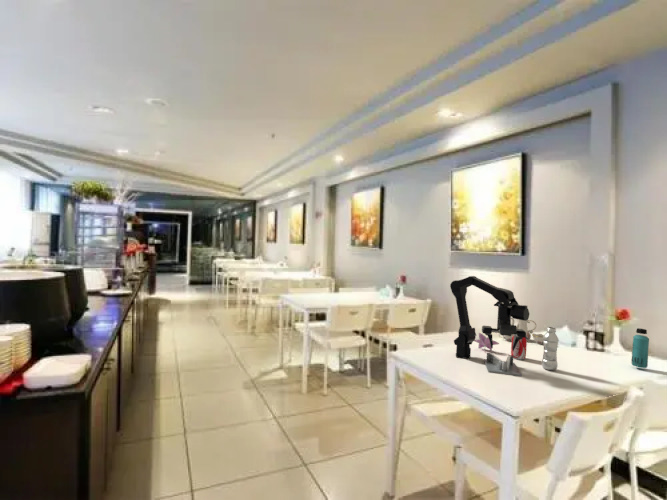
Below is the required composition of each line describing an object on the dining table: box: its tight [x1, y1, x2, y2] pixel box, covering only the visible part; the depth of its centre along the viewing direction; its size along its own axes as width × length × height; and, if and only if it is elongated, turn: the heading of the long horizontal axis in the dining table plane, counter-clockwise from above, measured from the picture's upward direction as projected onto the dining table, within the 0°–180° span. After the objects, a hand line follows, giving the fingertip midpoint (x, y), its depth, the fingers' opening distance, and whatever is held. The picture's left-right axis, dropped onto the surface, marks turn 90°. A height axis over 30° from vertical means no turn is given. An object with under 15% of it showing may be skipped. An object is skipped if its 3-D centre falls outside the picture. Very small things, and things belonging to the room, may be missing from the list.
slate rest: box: [483, 358, 523, 377], centre depth 181 cm, size 14×18×5 cm
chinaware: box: [498, 317, 545, 345], centre depth 236 cm, size 28×17×17 cm, turn 81°
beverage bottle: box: [630, 327, 650, 369], centre depth 189 cm, size 6×7×20 cm
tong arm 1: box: [486, 352, 503, 369], centre depth 183 cm, size 2×12×4 cm, turn 178°
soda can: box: [510, 334, 528, 361], centre depth 198 cm, size 7×7×12 cm
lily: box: [473, 332, 500, 351], centre depth 210 cm, size 12×12×10 cm
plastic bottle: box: [541, 326, 559, 371], centre depth 182 cm, size 6×7×20 cm
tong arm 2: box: [505, 354, 514, 370], centre depth 181 cm, size 2×12×4 cm, turn 151°
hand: (502, 349), depth 181 cm, fingers open, 9 cm apart
